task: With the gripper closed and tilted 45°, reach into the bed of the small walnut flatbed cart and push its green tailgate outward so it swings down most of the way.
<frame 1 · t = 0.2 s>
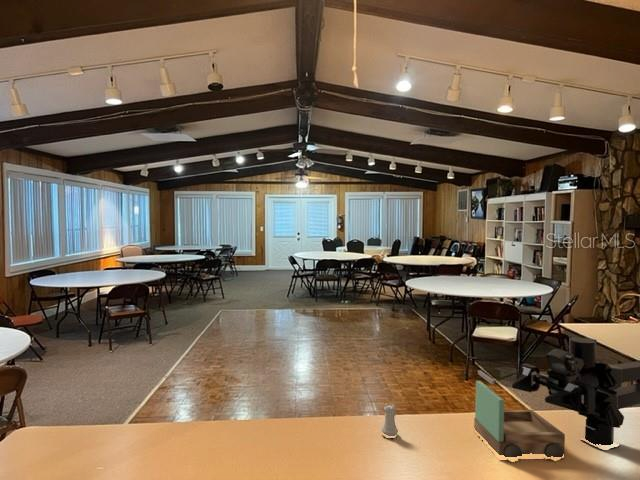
hand: (528, 392, 99), 17 cm above the table, tool horizontal, fingers open, 9 cm apart
cart: (516, 445, 107), on the table
rook chess piece: (389, 436, 111), on the table
tailgate: (487, 402, 107), point 11 cm above the table, hinge at 0.0°
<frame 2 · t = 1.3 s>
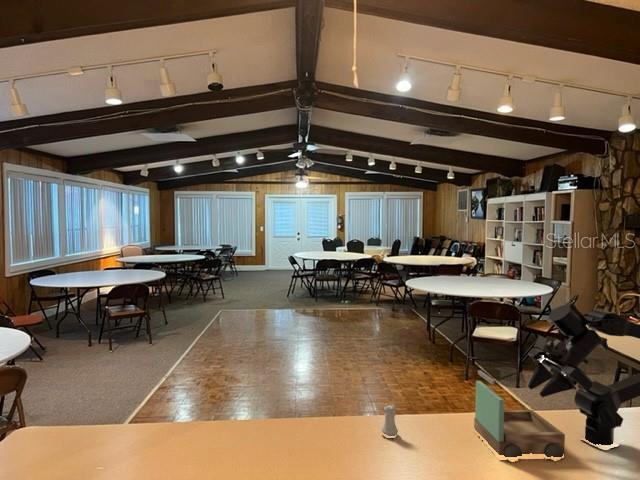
hand: (534, 391, 107), 14 cm above the table, tool tilted 45°, fingers open, 5 cm apart
nothing on the table moved.
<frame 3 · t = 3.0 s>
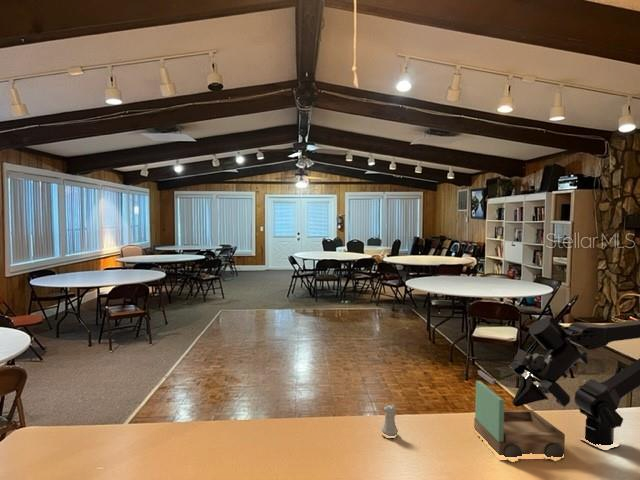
hand: (514, 405, 107), 10 cm above the table, tool tilted 45°, fingers closed
nothing on the table moved.
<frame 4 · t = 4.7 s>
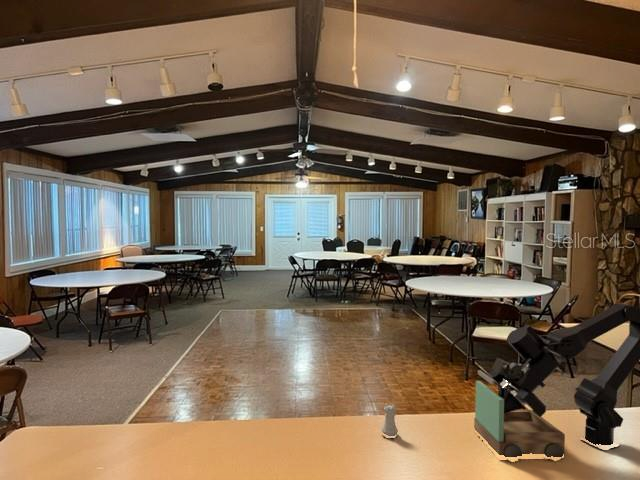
hand: (491, 414, 107), 8 cm above the table, tool tilted 45°, fingers closed, pressing on tailgate
tailgate: (487, 402, 107), point 11 cm above the table, hinge at 0.2°, touching gripper
everything else where it was.
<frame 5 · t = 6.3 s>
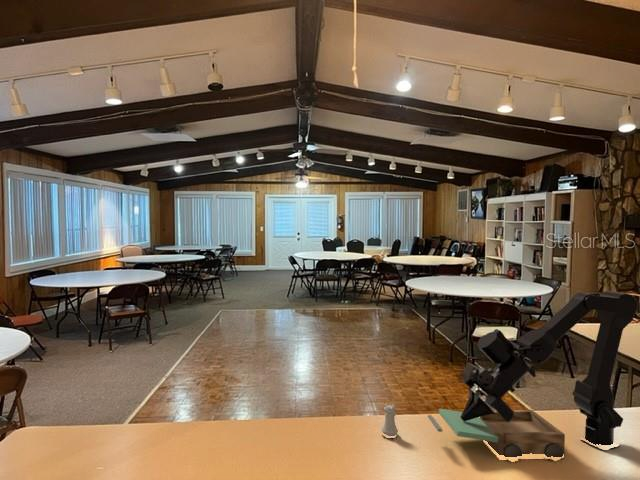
hand: (462, 419, 106), 7 cm above the table, tool tilted 45°, fingers closed
tailgate: (459, 424, 106), point 5 cm above the table, hinge at 80.5°
everything else where it was.
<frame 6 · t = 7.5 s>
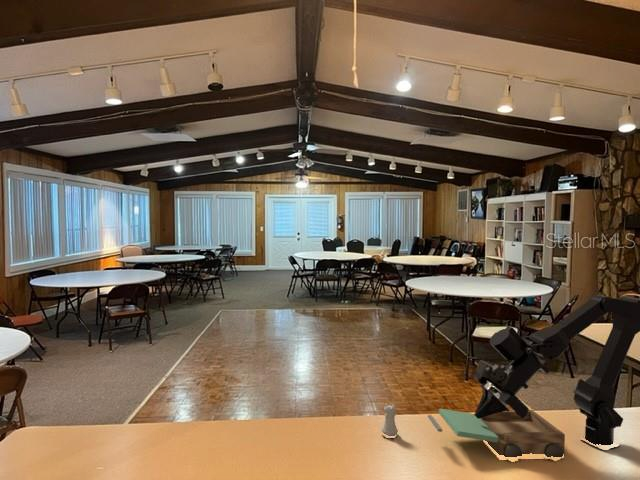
hand: (476, 416, 106), 7 cm above the table, tool tilted 45°, fingers closed
nothing on the table moved.
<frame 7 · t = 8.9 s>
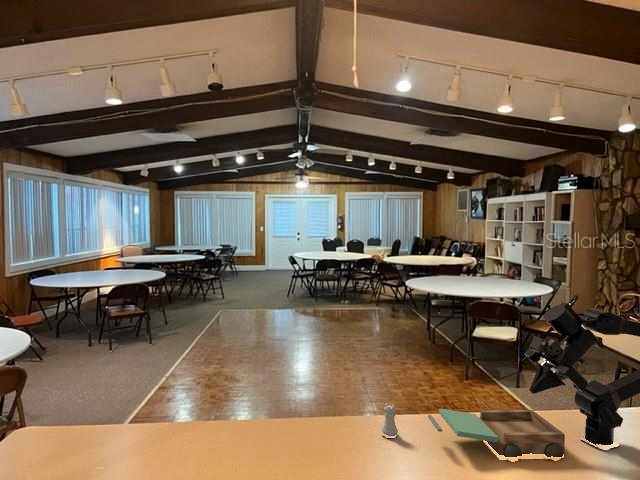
hand: (531, 392, 107), 14 cm above the table, tool tilted 45°, fingers closed
nothing on the table moved.
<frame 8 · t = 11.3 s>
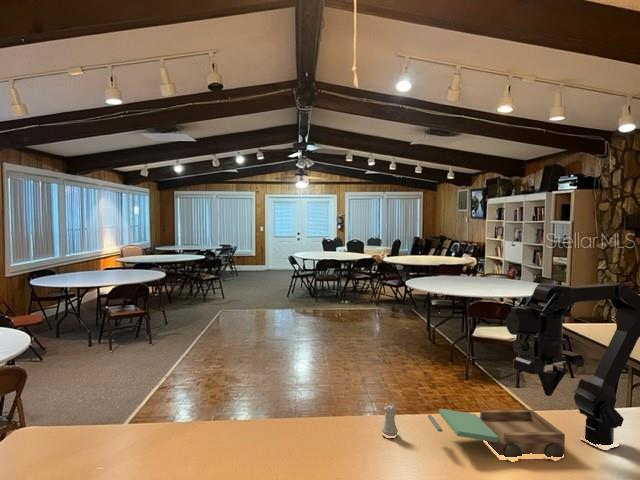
hand: (548, 395, 106), 13 cm above the table, tool pointing down, fingers closed
nothing on the table moved.
at the end: tailgate at +80° (first picture: +0°); rook chess piece moved 0.2 cm from its start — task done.
